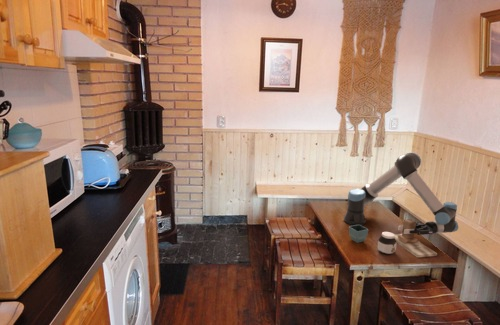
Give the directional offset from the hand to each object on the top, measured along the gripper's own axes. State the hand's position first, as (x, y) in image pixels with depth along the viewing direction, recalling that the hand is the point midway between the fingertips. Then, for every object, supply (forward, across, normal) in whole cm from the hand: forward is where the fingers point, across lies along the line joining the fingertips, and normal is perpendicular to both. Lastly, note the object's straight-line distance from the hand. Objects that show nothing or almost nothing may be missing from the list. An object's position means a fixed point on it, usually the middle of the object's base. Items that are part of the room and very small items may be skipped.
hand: (401, 229), depth 208 cm
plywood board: (-5, -4, -9) cm, 11 cm away
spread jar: (+15, -7, -10) cm, 19 cm away
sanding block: (-5, 0, -7) cm, 9 cm away
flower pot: (+25, +8, -10) cm, 28 cm away
